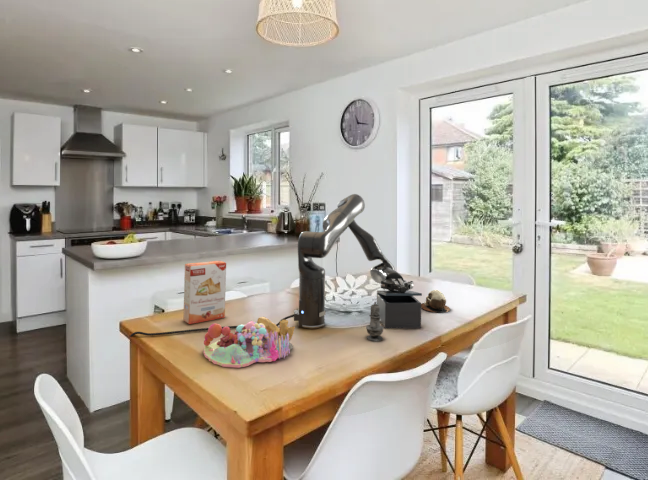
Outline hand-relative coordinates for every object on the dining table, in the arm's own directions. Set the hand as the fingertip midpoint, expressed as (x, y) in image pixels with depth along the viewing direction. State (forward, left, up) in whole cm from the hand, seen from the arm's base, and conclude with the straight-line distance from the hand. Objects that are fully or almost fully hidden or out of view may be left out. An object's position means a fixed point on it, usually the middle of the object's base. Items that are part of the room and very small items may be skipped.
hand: (403, 290), depth 145 cm
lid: (0, +7, -3) cm, 7 cm away
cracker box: (-71, +11, -13) cm, 73 cm away
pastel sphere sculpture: (-51, -20, -13) cm, 56 cm away
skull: (+20, +24, -13) cm, 34 cm away
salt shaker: (-12, -10, -13) cm, 21 cm away
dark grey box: (0, +7, -13) cm, 15 cm away
